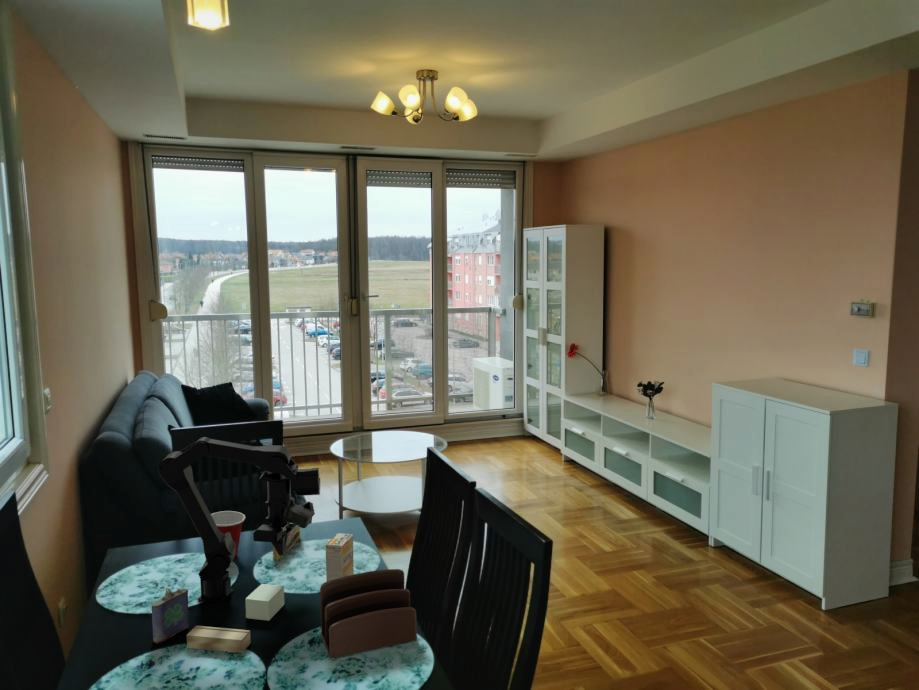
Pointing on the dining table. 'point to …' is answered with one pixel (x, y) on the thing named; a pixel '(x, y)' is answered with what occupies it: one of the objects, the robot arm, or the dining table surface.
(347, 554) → the supplement box
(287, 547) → the candy box
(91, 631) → the dining table surface
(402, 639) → the letter holder
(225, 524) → the plastic cup
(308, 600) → the dining table surface
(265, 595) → the block
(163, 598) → the flask
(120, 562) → the dining table surface
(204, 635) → the wooden bar
